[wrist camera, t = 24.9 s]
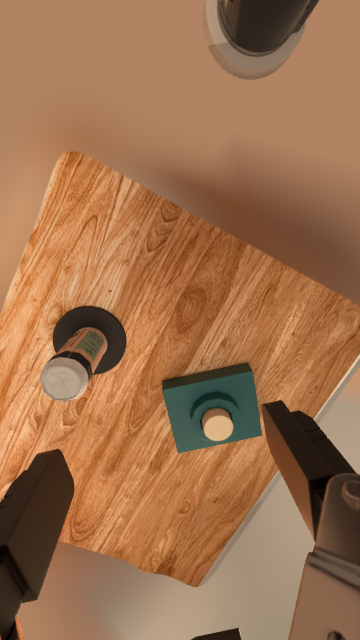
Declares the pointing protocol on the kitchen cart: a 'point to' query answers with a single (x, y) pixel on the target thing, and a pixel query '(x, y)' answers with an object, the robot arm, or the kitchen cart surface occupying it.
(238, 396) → the push button base
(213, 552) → the kitchen cart surface
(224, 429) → the button
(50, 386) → the beer can
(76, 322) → the coaster
